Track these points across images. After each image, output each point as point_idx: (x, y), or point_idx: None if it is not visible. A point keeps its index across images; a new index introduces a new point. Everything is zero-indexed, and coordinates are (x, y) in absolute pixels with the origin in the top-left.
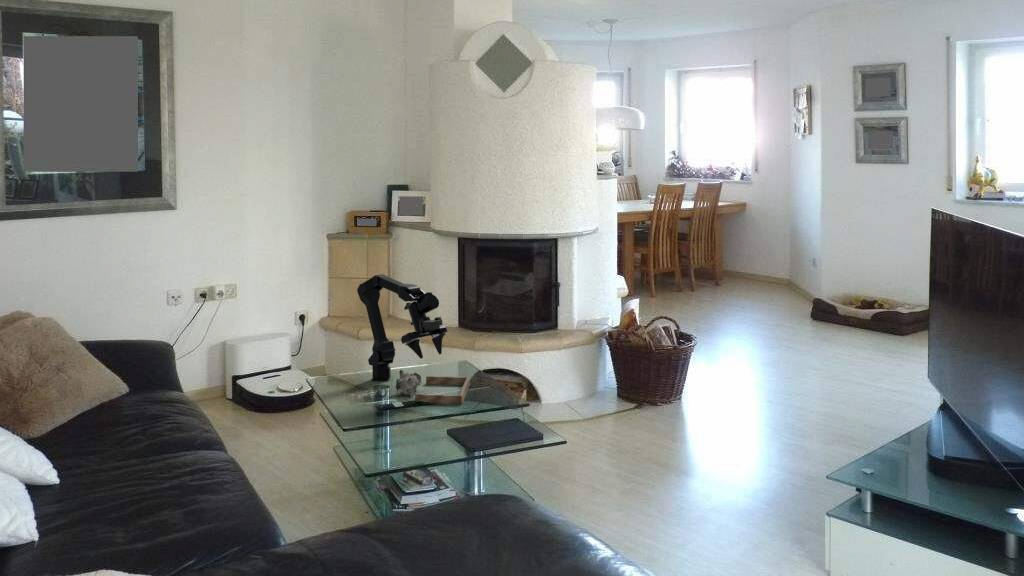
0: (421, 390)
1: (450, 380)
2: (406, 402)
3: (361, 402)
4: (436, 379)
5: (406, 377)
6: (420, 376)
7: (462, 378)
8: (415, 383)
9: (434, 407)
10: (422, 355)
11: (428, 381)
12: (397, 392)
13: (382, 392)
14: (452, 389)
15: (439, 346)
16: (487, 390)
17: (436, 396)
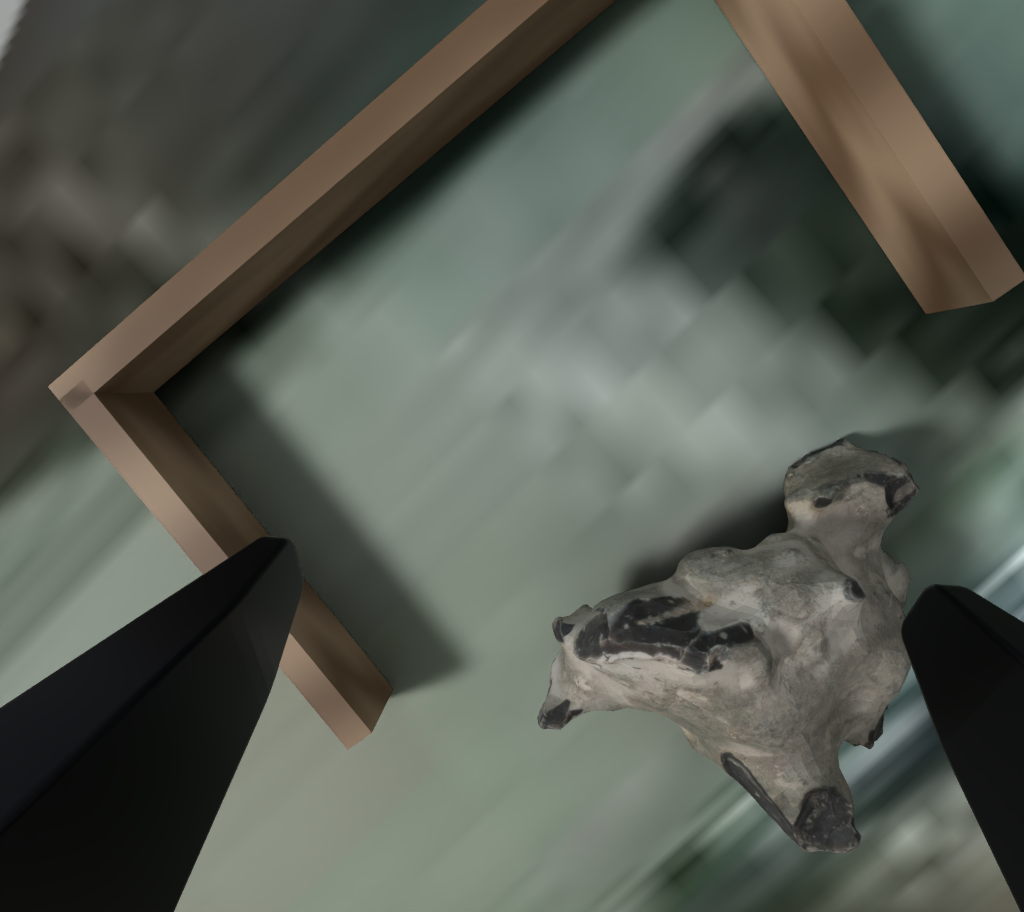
0: (575, 569)
1: (228, 525)
2: (989, 367)
3: None
4: (315, 636)
5: (840, 664)
6: (617, 620)
7: (131, 430)
8: (740, 553)
9: (963, 18)
10: (987, 621)
11: (372, 685)
12: (898, 598)
13: (858, 772)
14: (353, 383)
15: (149, 703)
16: (138, 100)
17: (880, 75)
